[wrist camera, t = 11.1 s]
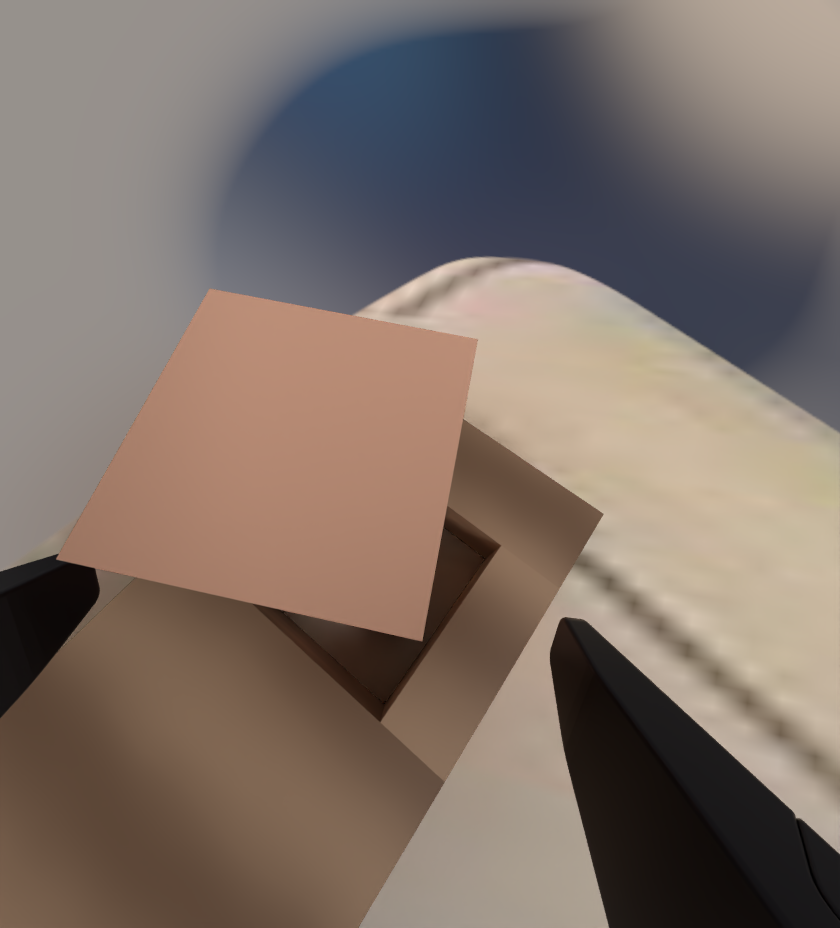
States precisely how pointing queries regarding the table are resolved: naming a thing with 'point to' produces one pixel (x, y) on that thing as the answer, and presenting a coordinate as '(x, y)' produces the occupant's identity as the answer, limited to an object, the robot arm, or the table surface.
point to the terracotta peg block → (289, 465)
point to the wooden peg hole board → (261, 737)
